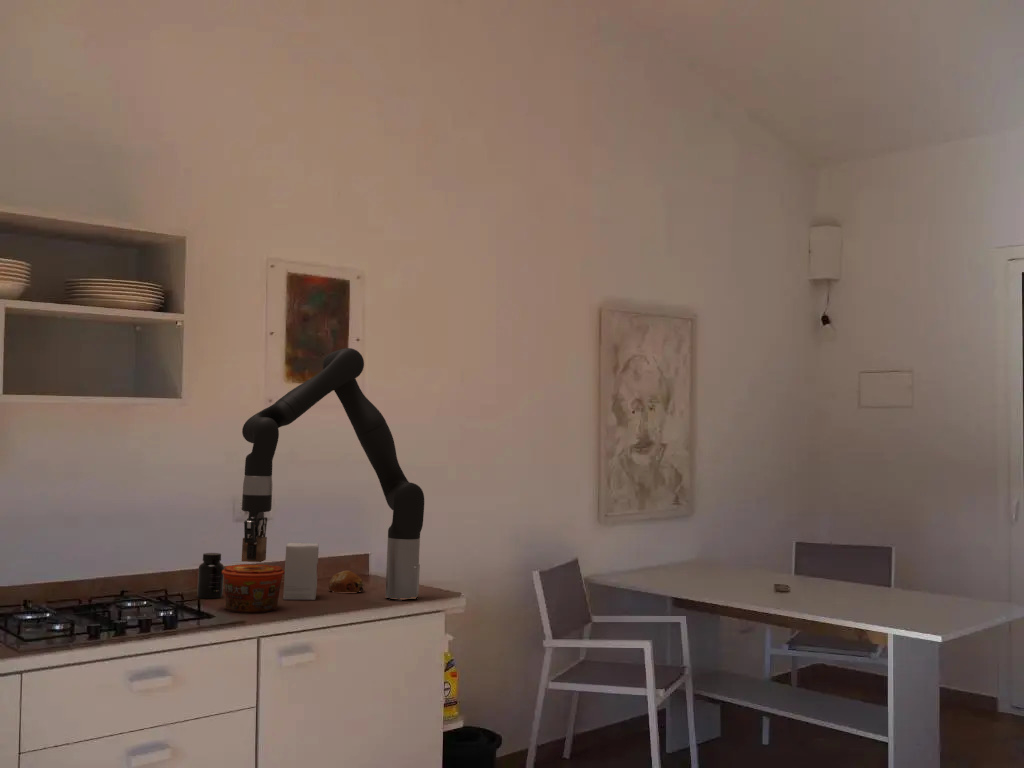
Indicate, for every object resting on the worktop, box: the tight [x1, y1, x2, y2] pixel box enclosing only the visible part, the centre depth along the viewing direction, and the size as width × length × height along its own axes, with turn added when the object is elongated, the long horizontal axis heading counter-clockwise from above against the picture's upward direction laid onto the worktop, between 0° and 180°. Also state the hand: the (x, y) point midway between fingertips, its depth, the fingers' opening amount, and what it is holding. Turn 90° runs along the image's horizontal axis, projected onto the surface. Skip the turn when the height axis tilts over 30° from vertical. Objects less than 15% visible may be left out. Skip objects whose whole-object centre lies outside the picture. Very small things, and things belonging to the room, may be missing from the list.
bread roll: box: [328, 570, 366, 592], centre depth 294 cm, size 10×10×8 cm
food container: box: [222, 563, 285, 614], centre depth 259 cm, size 16×16×11 cm
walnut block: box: [241, 536, 268, 563], centre depth 259 cm, size 5×5×6 cm
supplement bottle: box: [196, 552, 225, 600], centre depth 275 cm, size 7×7×12 cm
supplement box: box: [282, 542, 320, 601], centre depth 280 cm, size 9×9×15 cm
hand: (254, 558), depth 259 cm, fingers closed on walnut block, 5 cm apart
